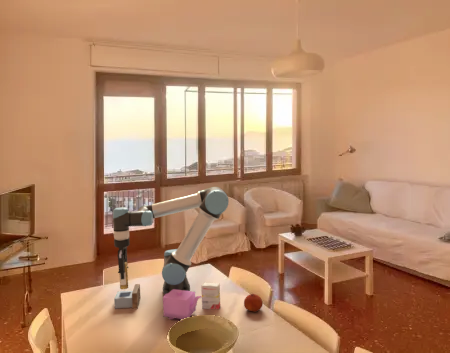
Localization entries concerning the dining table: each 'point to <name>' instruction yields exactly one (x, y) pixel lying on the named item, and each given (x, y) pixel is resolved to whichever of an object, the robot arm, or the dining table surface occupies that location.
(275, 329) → the dining table surface
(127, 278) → the golden brown tall cylinder
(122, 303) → the block
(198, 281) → the dining table surface
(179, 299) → the teapot
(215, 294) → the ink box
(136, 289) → the board
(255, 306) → the fruit
